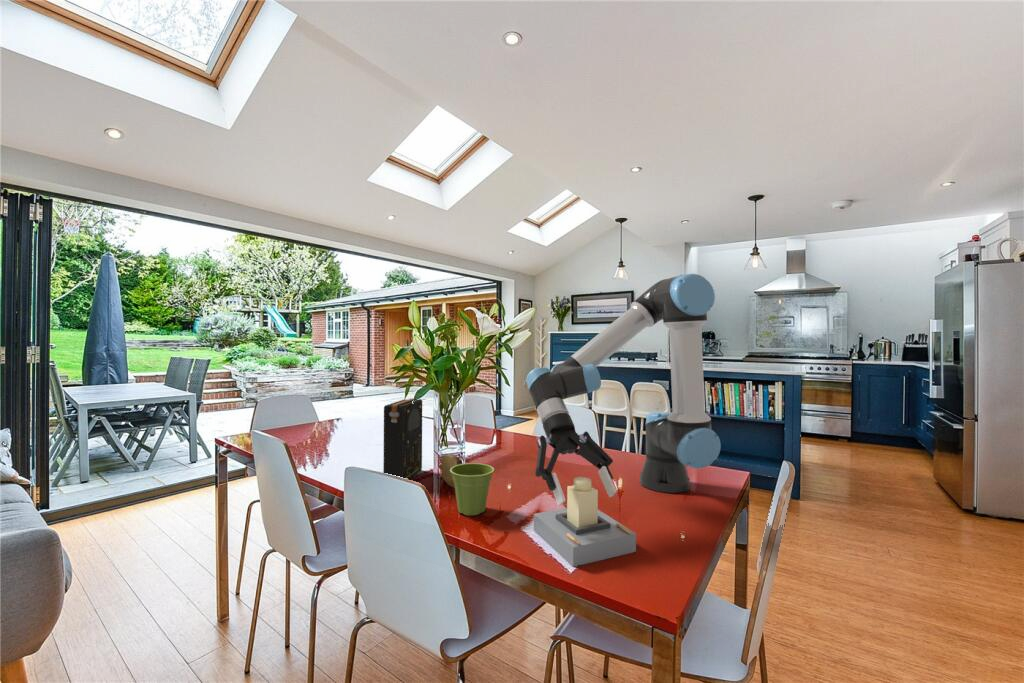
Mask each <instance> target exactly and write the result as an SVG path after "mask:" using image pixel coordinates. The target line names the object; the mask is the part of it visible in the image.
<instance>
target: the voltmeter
mask: <svg viewBox="0 0 1024 683" xmlns="http://www.w3.org/2000/svg"><path fill="white" fill-rule="evenodd" d="M414 399H415V400H416V399H417V398H409V399H405V398H404V399H401V400H398V401H395V402H391V403H389V404H385V405H384V407H383V466H382V467H383V471H382V472H383V473H388V474H392V475H396V476H400V477H403V478H408V480H410V479H411V478H412V477H414V476H415V475H416V474H418V473H419V472H421V471H422V470H423V469H422V468H423V400H422V399H421V398H420V399H419V400H418V399H417V400H416V401H415V402H414V404H412V401H413V400H414ZM417 472H418V473H417ZM414 474H415V475H414ZM413 475H414V476H413Z"/></svg>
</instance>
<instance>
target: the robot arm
mask: <svg viewBox="0 0 1024 683" xmlns="http://www.w3.org/2000/svg"><path fill="white" fill-rule="evenodd" d="M715 298H716V296H715V290H714V287H713V285H712V284H711V283H710V281H709V280H707V279H706V278H705V276H702V275H701V274H697V273H684V274H680V275H676V276H673V277H670V278H666V279H662V280H659V281H657V282H656V283H654V284H653V285H652V286H650V287H649V288H648V289H646V290H645V291H644V292H643V293H642V294H641V295H639V296H638V297H637V298H636V299H634V301H632V302H631V303H630V308H628V309H627V311H625V312H624V313H622V314H621V315H620V316H619V317H617V319H615V320H614V321H612V322H611V323H610V324H608V326H606V327H605V328H604V329H603V330H601V331H600V332H599V333H598V334H596V335H595V336H594V337H593V338H592V339H590V340H589V341H588V342H587V343H585V345H583V346H582V347H581V348H579V349H578V350H577V351H575V352H574V353H573V354H572V355H570V357H568V358H567V359H565V360H564V361H563V362H561V363H557V364H555V365H554V366H552V368H551V369H550V368H548V367H545V366H544V367H543V366H540V367H539V366H538V367H535V368H533V369H532V370H530V371H529V373H528V374H527V376H526V379H525V382H526V385H527V389H528V393H529V395H530V396H531V399H532V401H533V405H534V407H535V409H536V412H537V415H538V417H539V420H540V422H541V425H542V428H543V431H544V433H545V436H544V435H540V437H539V439H538V440H537V443H536V444H537V448H538V452H537V453H538V454H537V459H536V460H537V461H536V465H535V466H536V467H535V477H537V478H539V477H541V478H542V480H543V481H545V482H546V484H547V487H548V489H549V491H552V492H553V495H554V498H555V501H556V504H557V506H558V507H560V506H562V505H563V504H564V503H565V502H566V497H565V494H564V492H563V490H562V486H561V484H560V480H559V479H558V475H557V473H556V472H553V470H554V467H555V465H556V462H557V460H558V457H559V455H560V454H561V455H562V456H563V455H566V454H576V455H577V456H580V457H582V458H583V459H585V460H586V461H587V462H589V463H590V464H591V465H593V466H594V467H596V468H597V469H598V471H597V473H598V475H599V477H600V479H601V482H602V484H603V487H604V489H605V491H606V493H607V495H608V498H612V497H613V496H614V495H615V494H616V492H618V490H617V488H616V486H615V484H614V482H613V479H614V477H613V474H612V473H611V472H612V471H611V470H610V466H611V464H613V461H614V460H613V459H612V457H611V456H610V455H609V454H608V453H607V452H605V450H604V449H602V447H601V446H600V445H599V444H598V443H597V442H595V441H594V439H593V438H592V436H591V435H590V433H589V432H588V431H586V430H585V431H584V432H583V433H581V434H579V433H577V431H576V427H575V423H574V422H573V420H572V417H571V415H570V413H569V410H568V408H567V406H566V403H565V402H564V400H566V399H570V398H573V397H577V396H582V395H585V394H590V393H592V392H595V391H598V390H600V389H601V385H602V380H601V375H600V372H599V369H598V366H600V365H601V364H603V362H605V361H606V360H608V358H610V357H611V356H612V355H613V354H615V353H616V352H617V351H618V350H620V349H621V348H622V347H623V346H624V345H626V344H627V343H628V342H630V341H631V340H632V339H633V338H634V337H636V336H637V335H638V334H639V333H641V332H642V331H643V330H644V329H646V327H648V328H652V327H653V326H654V325H656V324H657V323H658V322H659V323H660V321H663V325H664V326H665V327H666V328H668V331H669V332H668V334H669V337H668V338H669V355H670V360H669V361H670V382H671V401H672V402H671V405H672V411H671V412H670V411H669V412H664V411H663V412H650V413H648V414H647V415H646V418H645V419H646V420H645V423H644V424H645V461H644V463H643V466H642V469H641V472H640V474H639V484H640V485H641V486H643V487H644V488H646V489H649V490H652V491H655V492H660V493H667V494H668V493H669V494H671V493H672V494H676V493H685V492H687V491H689V490H690V489H691V479H690V478H689V474H688V471H687V467H690V468H691V469H703V468H707V467H709V466H710V465H711V464H712V465H713V463H714V461H715V460H717V459H718V457H719V455H720V452H721V448H722V446H721V445H722V444H721V440H720V437H719V436H718V434H717V433H716V432H715V431H714V430H712V418H711V417H710V416H709V415H708V414H707V413H706V406H705V385H704V384H705V382H704V381H705V380H704V360H703V358H704V356H703V355H704V354H703V335H702V334H703V332H702V328H703V327H704V325H705V324H706V323H707V322H708V312H709V311H711V309H712V308H713V305H714V304H715V300H716V299H715ZM548 445H549V446H551V448H553V450H552V453H551V454H550V457H549V458H550V459H549V461H548V463H547V464H546V466H545V463H546V461H545V460H546V454H547V449H548V448H547V447H548ZM578 447H579V448H578ZM686 466H687V467H686ZM545 467H546V468H545Z"/></svg>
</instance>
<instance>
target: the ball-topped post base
mask: <svg viewBox="0 0 1024 683" xmlns="http://www.w3.org/2000/svg"><path fill="white" fill-rule="evenodd" d="M533 531H534V532H535V533H536V534H537V535H538V536H539V537H540V538H541V539H542V540H543V541H545V543H547V544H548V545H549V546H550V547H551V548H552V549H553V550H554V551H555V552H556V553H558V554H559V556H561V557H562V558H563V559H564V560H565V561H566V562H567V563H568V564H570V566H571V567H572V568H574V566H575V567H577V566H578V565H579V566H582V565H587V564H590V563H595V562H600V561H603V560H607V559H611V558H615V557H620V556H624V555H628V554H633V553H635V552H637V533H636V532H634V531H633V530H631V529H630V528H628V527H627V526H625V525H623V524H622V523H620V522H618V520H615V519H614V518H612V517H611V516H609V515H608V514H606V513H605V512H602V510H600V509H598V524H594V525H589V526H584V527H579V528H577V527H576V526H575V525H573V524H572V523H571V522H569V521H568V520H567V507H566V508H560V509H554V510H548V511H543V512H537V513H533ZM579 566H578V567H579Z"/></svg>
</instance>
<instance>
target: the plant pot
mask: <svg viewBox="0 0 1024 683" xmlns="http://www.w3.org/2000/svg"><path fill="white" fill-rule="evenodd" d="M450 472H451V473H452V476H453V481H454V484H455V488H454V490H455V498H456V505H457V510H458V512H459V514H463V515H464V516H470V517H471V516H477V515H480V514H481V513H484V512H485V511H486V507H487V501H488V500H487V499H488V495H489V488H490V483H491V480H492V475H493V473H494V472H495V468H494V467H493V466H492V465H489V464H485V463H478V462H477V463H476V462H474V463H473V462H469V463H467V462H466V463H463V464H460V465H456V466H453V467H452V468H451V469H450Z"/></svg>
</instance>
